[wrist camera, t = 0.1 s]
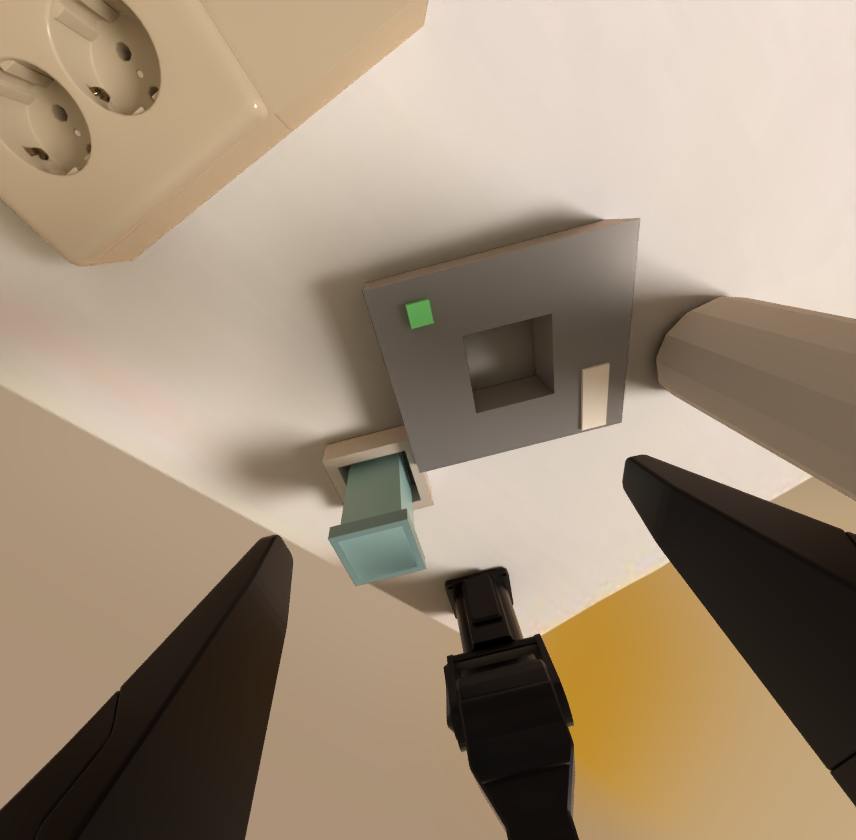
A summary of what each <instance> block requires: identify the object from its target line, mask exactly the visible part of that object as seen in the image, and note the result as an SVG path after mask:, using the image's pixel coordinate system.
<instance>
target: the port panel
mask: <svg viewBox="0 0 856 840" xmlns="http://www.w3.org/2000/svg"><path fill="white" fill-rule="evenodd" d="M639 226H640V218H633V219H608V220H602V221H598V222H594V223H590V224H587V225H583V226H579V227H575V228H571V229H568V230H564V231H560V232H556V233H553V234H549V235H545V236H541V237H537V238H534V239H530V240H526V241H522V242H519V243H515V244H511V245H507V246H503V247H500V248H496V249H492V250H488V251H485V252H481V253H477V254H473V255H469V256H466V257H462V258H458V259H454V260H451V261H447V262H443V263H439V264H435V265H432V266H428V267H424V268H420V269H416V270H413V271H409V272H405V273H401V274H398V275H394V276H390V277H386V278H382V279H379V280H375V281H371V282H367V283H365V286H364V289H363V291H362V292H363V295H364V298H365V301H366V305H367V308H368V311H369V314H370V317H371V320H372V324H373V327H374V330H375V333H376V336H377V340H378V343H379V346H380V349H381V352H382V355H383V359H384V362H385V365H386V368H387V371H388V375H389V378H390V381H391V384H392V387H393V390H394V394H395V397H396V400H397V403H398V406H399V409H400V413H401V416H402V419H403V422H404V425H405V429H406V432H407V435H408V438H409V441H410V444H411V448H412V451H413V454H414V457H415V460H416V464H417V467H418V470H419V473H422V472H426V471H430V470H434V469H438V468H442V467H446V466H450V465H454V464H458V463H462V462H466V461H470V460H474V459H478V458H482V457H486V456H490V455H494V454H498V453H502V452H506V451H510V450H514V449H518V448H522V447H526V446H530V445H533V444H537V443H541V442H545V441H549V440H553V439H557V438H561V437H565V436H569V435H573V434H577V433H581V432H585V431H589V430H593V429H597V428H601V427H605V426H609V425H613V424H617V423H621V422H622V411H623V400H624V389H625V379H626V368H627V357H628V346H629V335H630V324H631V313H632V302H633V292H634V281H635V270H636V259H637V248H638V237H639ZM528 319H532V323H533V339H534V355H535V371H536V375H534V376H530V377H526V378H523V379H519V380H515V381H511V382H507V383H503V384H499V385H495V386H491V387H487V388H483V389H480V390H476V391H472V387H471V381H470V375H469V370H468V364H467V358H466V353H465V347H464V341H463V336H467V335H470V334H474V333H478V332H482V331H486V330H490V329H494V328H497V327H501V326H505V325H509V324H513V323H517V322H521V321H524V320H528Z"/></svg>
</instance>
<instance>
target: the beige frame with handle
mask: <svg viewBox="0 0 856 840" xmlns="http://www.w3.org/2000/svg"><path fill="white" fill-rule="evenodd" d="M402 451H405V452H406V455H407V458H408V461H409V464H410V467H411V471H412V474H413V477H414V480H415V483H416V484H412V485H411V495H412V506H413V510H416V509H420V508H424V507H428V506H432V505H434V504H433V498H432V492H431V487H430V483H429V480H428V477H427V473H426V472H422V473H419V470H418V467H417V464H416V460H415V457H414V454H413V451H412V448H411V444H410V441H409V438H408V435H407V432H406V429H405V425H403V426H399V427H395V428H391V429H387V430H383V431H379V432H375V433H371V434H368V435H364V436H360V437H356V438H352V439H348V440H344V441H340V442H336V443H332V444H328V445H326V448H325V452H324V455H323V459H322V463H323V465H324V467H325V469H326V471H327V473H328V475H329V477H330V479H331V481H332V483H333V485H334V487H335V489H336V491H337V493H338V495H339V497H340V499H341V501H342V503H343V505H344V500H345V494H346V487H347V481H348V474H349V468H348V465H350V464H354V463H358V462H362V461H366V460H370V459H374V458H378V457H382V456H386V455H390V454H394V453H398V452H402Z"/></svg>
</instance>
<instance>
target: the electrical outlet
mask: <svg viewBox="0 0 856 840" xmlns="http://www.w3.org/2000/svg"><path fill="white" fill-rule="evenodd" d="M427 5H428V0H0V199H1V200H2V201H3V202H4V203H6V204H7V205H8V206H9V207H10V208H11V209H12V210H13V211H14V212H15V213H16V214H17V215H18V216H20V217H21V218H22V219H23V220H24V221H25V222H26V223H27V224H28V225H29V226H30V227H31V228H33V229H34V230H35V231H36V232H37V233H38V234H39V235H40V236H41V237H42V238H43V239H44V240H46V241H47V242H48V243H49V244H50V245H51V246H52V247H53V248H54V249H55V250H56V251H57V252H58V253H60V254H61V255H62V256H63V257H64V258H65V259H66V260H67V261H69V262H70V263H72V264H75V265H77V266H90V265H99V264H107V263H115V262H123V261H131V260H134V259H135V258H136V257H137V256H139V255H140V254H141V253H142V252H143V251H145V250H146V249H147V248H148V247H150V246H151V245H152V244H153V243H155V242H156V241H157V240H158V239H160V238H161V237H162V236H163V235H165V234H166V233H167V232H168V231H170V230H171V229H172V228H173V227H174V226H176V225H177V224H178V223H179V222H181V221H182V220H183V219H184V218H186V217H187V216H188V215H189V214H191V213H192V212H193V211H194V210H196V209H197V208H198V207H199V206H201V205H202V204H203V203H204V202H206V201H207V200H208V199H209V198H210V197H212V196H213V195H214V194H215V193H217V192H218V191H219V190H220V189H222V188H223V187H224V186H225V185H227V184H228V183H229V182H230V181H232V180H233V179H234V178H235V177H237V176H238V175H239V174H240V173H241V172H243V171H244V170H245V169H246V168H248V167H249V166H250V165H251V164H253V163H254V162H255V161H256V160H258V159H259V158H260V157H261V156H263V155H264V154H265V153H266V152H268V151H269V150H270V149H271V148H272V147H274V146H275V145H276V144H277V143H279V142H280V141H281V140H282V139H284V138H285V137H286V136H287V135H289V134H290V133H291V131H294V130H295V129H296V128H297V127H299V126H300V125H301V124H302V123H304V122H305V121H306V120H307V119H308V118H310V117H311V116H312V115H313V114H315V113H316V112H317V111H318V110H320V109H321V108H322V107H323V106H325V105H326V104H327V103H328V102H330V101H331V100H332V99H333V98H335V97H336V96H337V95H338V94H339V93H341V92H342V91H343V90H344V89H346V88H347V87H348V86H349V85H351V84H352V83H353V82H354V81H356V80H357V79H358V78H359V77H361V76H362V75H363V74H364V73H366V72H367V71H368V70H369V69H371V68H372V67H373V66H374V65H375V64H377V63H378V62H379V61H380V60H382V59H383V58H384V57H385V56H387V55H388V54H389V53H390V52H392V51H393V50H394V49H395V48H397V47H398V46H399V45H400V44H402V43H403V42H404V41H405V40H406V39H408V38H409V37H410V36H411V35H413V34H414V33H415V32H416V31H418V30H419V29H420V28H421V27H423V26H424V21H425V16H426V11H427Z"/></svg>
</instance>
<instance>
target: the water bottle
mask: <svg viewBox="0 0 856 840" xmlns="http://www.w3.org/2000/svg"><path fill="white" fill-rule="evenodd" d="M656 365H657V373H658V381H659V384H660V385H662V386H663V387H664V388H665V389H666V390H668V391H669V392H670V393H671V394H673V395H674V396H676V397H677V398H679V399H681V400H683V401H684V402H686V403H688V404H690V405H691V406H693V407H695V408H696V409H698V410H700V411H702V412H703V413H705V414H707V415H708V416H710V417H712V418H714V419H715V420H717V421H719V422H721V423H722V424H724V425H726V426H727V427H729V428H731V429H733V430H734V431H736V432H738V433H739V434H741V435H743V436H745V437H746V438H748V439H750V440H752V441H753V442H755V443H757V444H758V445H760V446H762V447H764V448H765V449H767V450H769V451H770V452H772V453H774V454H776V455H777V456H779V457H781V458H783V459H784V460H786V461H788V462H789V463H791V464H793V465H795V466H796V467H798V468H800V469H801V470H803V471H805V472H807V473H808V474H810V475H812V476H814V477H815V478H817V479H819V480H820V481H822V482H824V483H826V484H827V485H829V486H831V487H832V488H834V489H836V490H838V491H839V492H841V493H843V494H845V495H846V496H848V497H850V498H852V499H853V500H855V501H856V319H853V318H848V317H843V316H837V315H832V314H827V313H822V312H817V311H811V310H806V309H801V308H796V307H791V306H786V305H780V304H775V303H770V302H765V301H760V300H754V299H749V298H740V297H721V296H720V297H718V298H716V299H714V300H712V301H710V302H708V303H705V304H703V305H701V306H699V307H697V308H695V309H693V310H691V311H689V312H687V313H686V314H685V315H684V316H683V317H682V318H681V319H680V320H679V321H678V322H677V323H676V324H675V325H674V326H673V327H672V328H671V329H670V330H669V331H668V332H667V333H666V335H665V338H664V340H663V342H662V345H661V347H660V349H659V352H658V354H657V356H656Z"/></svg>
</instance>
